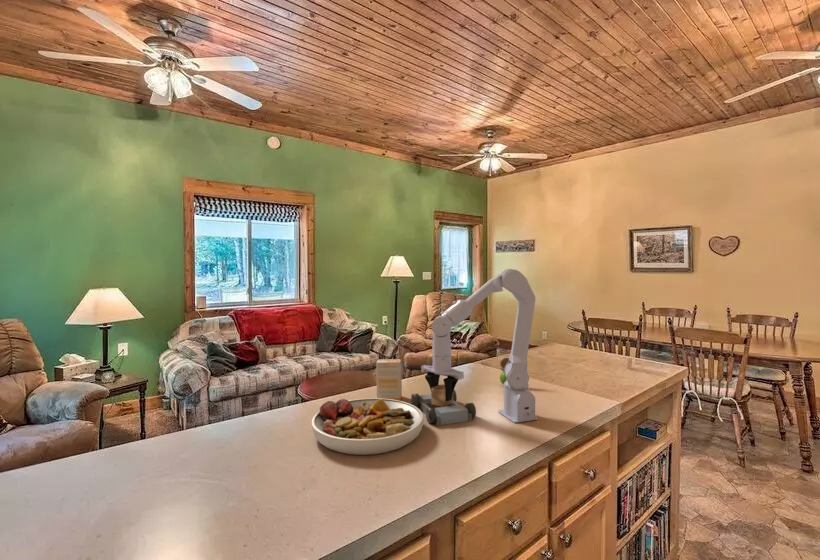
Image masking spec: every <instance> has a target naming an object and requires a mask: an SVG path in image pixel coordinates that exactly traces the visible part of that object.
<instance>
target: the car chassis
mask: <svg viewBox="0 0 820 560" xmlns="http://www.w3.org/2000/svg"><path fill="white" fill-rule="evenodd" d="M410 397H411V398H410V399H411V404H412V405H414V406H416V407H417V408H419V409H420V410H421V412H422V413H423V414H425V419H426V422H427V423H428V424H435V425H436V426H437V427H438V426H442V425H443V426H444V425H450V424H458V423H465V422H472V421H473V418H475V417H476V415H477V410H476V409H477V407H476V406H475V403H473V402H466V403H465V405H463V404H460V403H459V402H457V397H458V396H457V393H456V390H455V389H454V391H453V403H451V404H449V405H447V406H445V407H441V406H437V405H433V404H431V393H427V394H420V395H419V393H413V394H411V395H410Z"/></svg>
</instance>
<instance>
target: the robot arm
mask: <svg viewBox="0 0 820 560" xmlns="http://www.w3.org/2000/svg"><path fill="white" fill-rule="evenodd" d="M503 289H505V290H507V291H508V292H509V293H511V295H513V297H514V298H515V299H516V300H517V309H516V315H515V316H516V317H515V321H514V322H515V323H514V330H513V337H512V343H511V350H510V353H509V356H508V358H509V361H508V363H507V364H506V366H505V368H504V372H505V375H506V377H507V380H506V382H505V383H504V384H503V409H499V410H497V412H498V413H499V414H501V415H502V416H504V417H505V418H506V419H508V420H510V421H511V422H513V423H522V422H529V421H536V420H538V419H539V418H538V417H537V416H536V398H535V397H536V396H535V395H534V394H533V393H532V392H531V390H530V386H529V385H530V384H529V380H530V377H529V373H528V353H529V352H528V351H529V345H530V340H531V339H530V337H531V332H532V326H533V325H532V324H533V319H534V318H533V317H534V312H535V306H536V305H535V304H536V296H535V294H534V291H533V289H532V287H531V285H530V283H529V281H528V278H527V277H526V276H525V274H523V273H521V272H520V271H519V270H517V269H513V268H508V269H504V270H503V271H501V273H499V274H497V275H495V276H493V277H492V278H490V279H489V280H487V281H486V282H485V283H484V284H483V285H482V286H480V287H479V288H478V289H477V290H475V292H473V293H472V294H471V295H470V296H469V297H468V298H466V299H458V300H454V301H453V302H452V305H451V306H450V307H448V308H447V309H445V310H444V311H443V310H442V311H441V312H440V315H438V316H436V317H435V318H434V319H433V321H432V323H431V330H432V346H431V347H432V365H428V364H423V365H420V366H421V367H420V370H421V371H420V372H421V373H427V374H425V375H424V379H425V380H426V382H427V384H428V386H429V389H430V390H431V388H433V387H435V386H437V385H440V384H439V383H440V376H443V377H445V378H443V383H444V385H445V391H446V401H449V400H451V399H452V394H453V391H454V390H455V387H456V385H457V384H458V381H460V380H463V379H464V375H465V373H464V371H460V370H457V369H454V368H452V340H451V332H452V331H451V330H452V328H455V327H457V326H458V325H460V324H461V323H462V322H463V321H465V320H466V319H467V318H469V316H471V315H472V313H473V312H472V311H473V308H474V307H476V306H477V305H478V304H480V303H481V302H483V301H484V300H485V299H486V298H488V297H489V296H491V295H492V294H493V293H498V292H504V290H503Z"/></svg>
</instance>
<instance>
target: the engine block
mask: <svg viewBox="0 0 820 560" xmlns="http://www.w3.org/2000/svg"><path fill="white" fill-rule="evenodd" d="M430 392H431V393H430V394H431V404H433V405H437V406H441V407H445V406H447V405H449V404H451V403H453V394H452V399H451V400H449V401H446V391H445V384H443V383H440V384H438V385H437V386H435V387H433V388H431V389H430Z"/></svg>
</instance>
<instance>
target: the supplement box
mask: <svg viewBox="0 0 820 560" xmlns="http://www.w3.org/2000/svg"><path fill="white" fill-rule="evenodd" d="M375 368H376V369H375V371H376V372H375V373H376V375H375V377H376V378H375V379H376V398H383V399H393V400H399V401H402V400H401V399H402V396H403V392H402V391H403V390H402V389H403V387H402V385H403V384H402V383H403V382H402V359H399V358H397V359H396V358H391V359H390V358H387V359H386V358H385V359H382V358H379V359H377V361H376V362H375Z"/></svg>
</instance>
